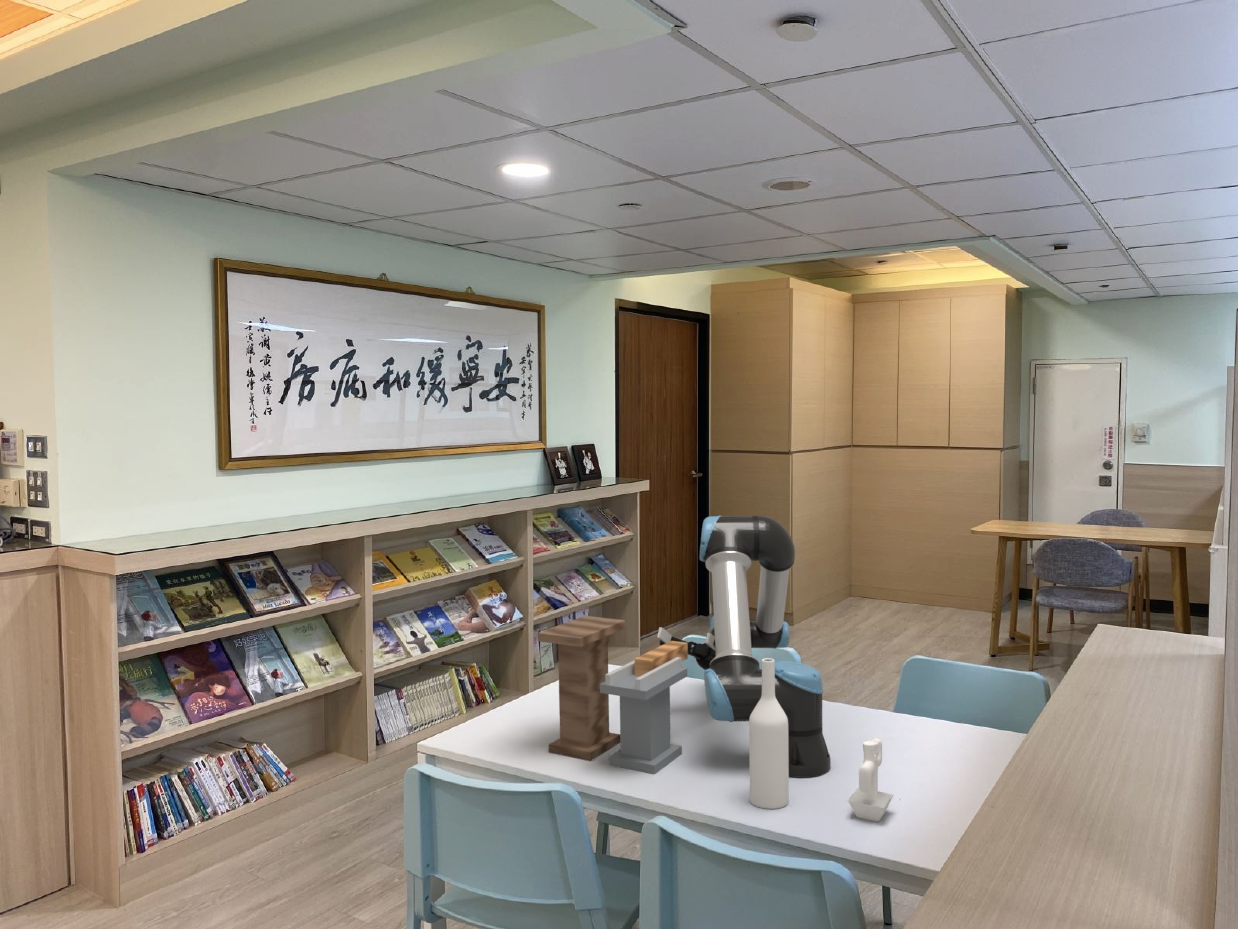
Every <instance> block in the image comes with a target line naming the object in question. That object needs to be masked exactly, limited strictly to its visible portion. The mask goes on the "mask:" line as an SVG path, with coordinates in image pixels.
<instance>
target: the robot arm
mask: <svg viewBox="0 0 1238 929" xmlns="http://www.w3.org/2000/svg"><path fill="white" fill-rule="evenodd" d="M795 559H796V548H795V545H794V541H793V539H792V536H791V535H790V533H789V532H788V531H787V529H786V528H785V527H784V526H783V525H782V524H781V523H780V522H779V521H777V520H775V519H774V518H772V517H770V516H766V515H736V516H735V515H734V516H733V515H725V516H723V515H717V516H713V515H712V516H707V517H705V518H704V519H703V522H702V528H701V537H700V546H699V560H700V561H701V562H703V563H705V568H706V569H707V570H708V571H709V572H710V573H711V581H712V582H711V583H712V586H711V587H712V602H713V604H712V605H713V616H711V619H710V632H707V633H706V638H705V642H704V643H698V642H694V641H686V640H683V639H679V638H677V637H674V636H673V635H672V633H670V632H669V631H667V630H666V629H665V628H663V627H662V626H661V627H659V628H658V633H657V637H656V638H658V639H659V646H661V645H664V644H666V643H668V642H670V641H677V642H685V643H688V656H691V657H694V659H695V661H696V663H697V665H698V666H699V667H700V668H702V670H704V671H703V680H704V687H705V688H704V689H705V690H704V691H705V698H706V702H707V703H706V704H707V707H708V708H707V709H708V712H709V714H710V717H711V718H712V719H714V720H715V721H717V722H730V723H733V722H749V718H750V715H751V713H752V711H753V710H754V708H755V707H756V705H757V704H758V702H759V700H760V699H761V695H762V668H760V662H759V659H757V658H756V657H755V656H753V652H752V650H753V649H779V648H780V649H782V648H787V647H789V645H790V625H789V623H788V622H787V621H784V619H785V611H786V601H787V595H788V594H787V592H788V586H789V576H790V570H791V569H792V567H793V566H794V564H795ZM753 561H754V562H755V561H756V562H758V564H759V566H760V572H759V584H758V585H759V586H758V596H757V598H758V599H757V609H756V610H757V612H756V620H755V621H750V611H749V610H750V608H749V597H748V595H749V594H748V581H747V571H748V570H749V569H750V568H751V567H752V562H753ZM774 662H775V697H776V699H777V701H778V703H779V704H780V706H781V707H782V709H783V711H784V712H785V714H786V716H787V719H788V760H789V777H792V778H813V777H818V776H821V775H823V774H826V773H828V772H829V771H830V769H831V756H830V753H829V750H828V745H827V742H826V740H825V738H824V734H823V693H824V689H823V678H822V674H821V673H820V671H819V670H818V669H817V668H816V667H815V668H814V667H813V666H811V665H808V664H805V663H802V662H796V661H790V660H779V661H774Z"/></svg>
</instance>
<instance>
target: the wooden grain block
mask: <svg viewBox="0 0 1238 929" xmlns="http://www.w3.org/2000/svg"><path fill="white" fill-rule="evenodd" d="M676 657H681V658H682V662H684V661H686V660H688V658H689V655H688V643H685V642H677V641H670V642H668V643H666V644H664V645H659V646H658V647H655V648H653V649H650V650H649V651H647V652H645V653H643V654H641V655H639V656H637V657H635V658H634V660H635V675H637V676H642V675H644V674H646V673H648V672H650V671H651V670H653V669H655V668H657V667H659V666H661V665H663V664H665V663H667V662H669V661H670V660H672V659H674V658H676Z"/></svg>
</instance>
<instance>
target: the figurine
mask: <svg viewBox="0 0 1238 929" xmlns="http://www.w3.org/2000/svg"><path fill="white" fill-rule="evenodd" d="M862 749H863V750H862V751H863V763H861V765H860V767H859V770H858V788H856V790H854V792H853V793H852V794H851V795H850V797H849V798H848V799H847V802H848V804H849V806H850V807H851V809H852V810H853V813H854V815H855V816H856V817H857V818H860V819H864V820H868V821H873V822H878V823H879V822H880V821H881V819H882V818H883V817H884V815H885V813H886V811H887V809H888V808H889V805H890V803H891V801H892V800H893V798H894V793H893V794H892V793H887V792H882V791H879V788H878V786H879V784H878V783H879V780H878V779H879V778H878V775H879V774H878V773H879V767H880V766H881V764H882V762H883V761H882V760H883V741H882V740H881V739H879V738H876V737H875V738H872V739H871V740H864V741H863V742H862Z"/></svg>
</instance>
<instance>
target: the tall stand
mask: <svg viewBox="0 0 1238 929" xmlns="http://www.w3.org/2000/svg"><path fill="white" fill-rule="evenodd" d="M626 627H627V626H626V619H618V618H617V619H616V618H608V617H602V616H601V617H599V616H593V615H592V616H589V615H583V616H581V617H578V618H575V619H573V620H570V621H567V622H564V623H562V624H559V625H556V626H554V627H550V628H548V629H545V630H542V631H539V632H537V641H538V642H541V643H547V644H549V643H550V644H556V645H557V653H558V655H557V656H558V704H559V705H558V708H559V738H557V739H555V740H554V741H552V742H550V743H548V753H550V754H555V755H561V756H565V757H568V758H569V757H570V758H574V759H579V760H583V761H584V760H585V761H589V762H592V761H594V760H595V759H596V758H598V757H600V756H601V755H603V754H604V753H606V752H608V751H610V750H611V749H612V748H615V746H617V745H618V744H620V733H615V732H611V731H610V705H609V703H610V701H609V700H610V699H609V697H610V696H609V695H610V694H605V693H600V684H601V683H603V682H605V674H608V673H609V646H608V645H609V643H608V642H609V636H610V635H613V634H615V633H618V632H620V631H622V630H624V629H626Z"/></svg>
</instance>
